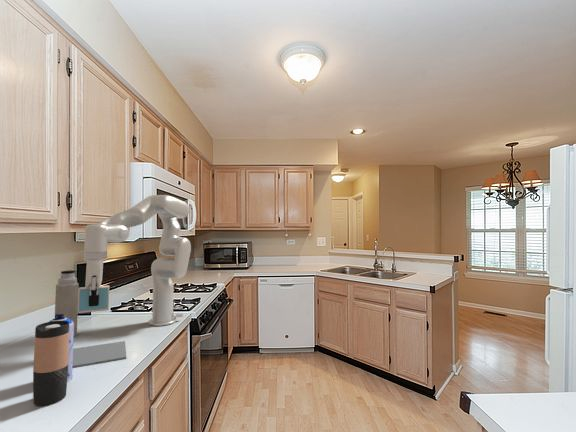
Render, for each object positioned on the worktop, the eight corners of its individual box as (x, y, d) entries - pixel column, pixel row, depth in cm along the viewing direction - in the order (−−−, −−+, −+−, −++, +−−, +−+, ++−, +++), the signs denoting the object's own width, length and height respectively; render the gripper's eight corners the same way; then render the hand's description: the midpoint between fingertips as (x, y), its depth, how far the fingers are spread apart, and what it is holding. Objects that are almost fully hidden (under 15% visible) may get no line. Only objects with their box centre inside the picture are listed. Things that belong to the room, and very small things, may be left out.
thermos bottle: (50, 337, 132) (52, 271, 134) (71, 332, 139) (73, 269, 140) (59, 341, 128) (61, 272, 129) (80, 335, 135) (82, 270, 136)
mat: (124, 342, 128) (125, 340, 128) (126, 358, 112) (126, 356, 112) (58, 352, 117) (58, 350, 117) (49, 371, 101) (49, 369, 101)
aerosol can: (33, 386, 92) (36, 317, 93) (55, 373, 100) (57, 310, 101) (59, 387, 92) (62, 317, 92) (78, 374, 100) (80, 310, 100)
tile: (108, 308, 124) (109, 285, 124) (108, 310, 121) (109, 286, 121) (78, 311, 119) (79, 287, 119) (77, 313, 116) (78, 288, 116)
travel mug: (62, 388, 91) (64, 318, 91) (71, 398, 86) (73, 324, 87) (28, 400, 85) (31, 324, 86) (36, 410, 80) (39, 330, 81)
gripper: (86, 255, 126) (84, 301, 125) (81, 258, 112) (79, 310, 111) (107, 254, 130) (106, 299, 129) (106, 257, 115) (104, 308, 114)
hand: (94, 304), depth 120 cm, fingers closed on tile, 3 cm apart
